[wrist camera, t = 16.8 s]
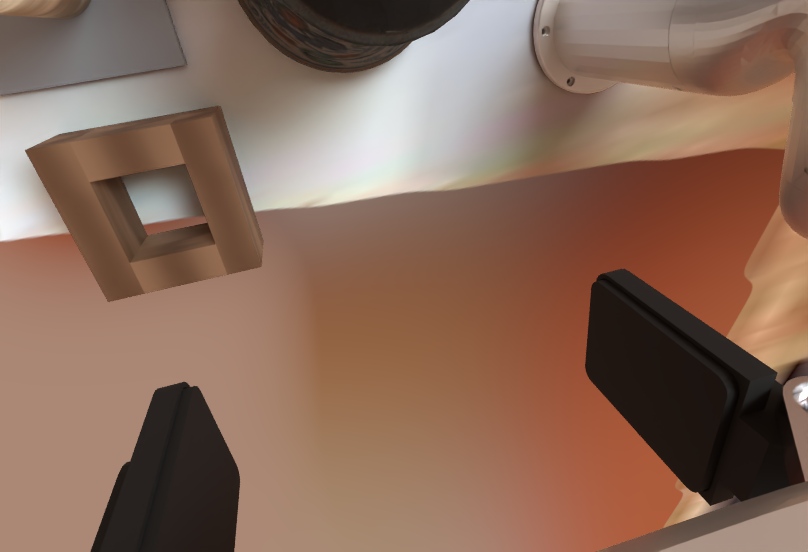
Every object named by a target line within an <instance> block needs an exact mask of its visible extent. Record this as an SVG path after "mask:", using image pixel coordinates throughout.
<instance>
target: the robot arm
mask: <svg viewBox="0 0 808 552" xmlns="http://www.w3.org/2000/svg"><path fill="white" fill-rule="evenodd" d="M542 29H543V33H542ZM533 38H534V47H535V52H536V55H537V59H538V62H539V64H540V66H541V68H542V70H543V72H544V73H545V74H546V76H547V77H548V78H549V79H550V80H551V82H553V83H554V84H556V85H557V86H558V87H560V88H562V89H564V90H567V91H569V92H574V93H579V94H591V93H596V92H600V91H603V90H605V89H608V88H610V87H612V86H613V85H615V84H616V83H618V82H623V83H630V84H637V85H644V86H651V87H658V88H664V89H671V90H678V91H685V92H692V93H699V94H707V95H714V96H737V95H744V94H748V93H751V92H755V91H758V90H761V89H764V88H766V87H768V86H771V85H773V84H775V83H777V82H779V81H781V80H783V79H785V78H786V77H788V76H790V75H792V74H793V73H795V82H794V90H793V97H792V102H793V105H792V112H791V118H790V124H789V130H788V136H787V142H786V149H785V155H784V161H783V167H782V176H781V183H780V195H779V198H780V208H781V212H782V215H783V217H784V219H785V221H786V222H787V224H788V225H789V226H790V227H791V228H792V229H793V230H794V231H795V232H797V233H798V234H799V235H801V236H802V237H804V238H806V239H808V0H539V2H538V5H537V8H536V13H535V19H534V31H533ZM567 80H568V82H567ZM585 368H586V372H587V375H588V377H589V379H590V380H591V381H592V382H593V384H594V385H595V386H596V387H597V388H598V389H599V390H600V391H601V392H602V394H603V395H604V396H605V397H606V398H607V399H608V400H609V401H610V402H611V404H612V405H613V406H614V407H615V408H616V409H617V410H618V411H619V412H620V414H621V415H622V416H623V417H624V418H625V419H626V420H627V421H628V423H630V425H631V426H632V427H633V428H634V429H635V430H636V431H637V433H638V434H639V435H640V436H641V437H642V438H643V439H644V440H645V441H646V443H647V444H648V445H649V446H650V447H651V448H652V449H653V450H654V451H655V453H656V454H657V455H658V456H659V457H660V458H661V459H662V460H663V462H664V463H665V464H666V465H667V466H668V467H669V468H670V469H671V470H672V472H673V473H674V474H675V475H676V476H677V477H678V478H679V479H680V480H681V482H682V483H683V484H684V485H685V486H686V487H687V488H688V489H689V490H691V491H692V492H698V493H699V494H700V495H701V496H702V497H703V498H704V499H705V500H706V502H707V503H708V504H709V505H710V506H711V505H714V504H717V503H720V502H723V501H725V500H728V499H731V498H733V496H734V495H735V496H736V497H737V498H738V499H739V500H740V501H741V502H739V503H736V504H733V505H730V506H727V507H724V508H721V509H718V510H715V511H712V512H709V513H706V514H703V515H701V516H698V517H695V518H692V519H689V520H686V521H683V522H680V523H677V524H675V525H672V526H669V527H666V528H663V529H660V530H657V531H654V532H651V533H649V534H646V535H643V536H640V537H637V538H634V539H632V540H629V541H625V542H623V543H620V544H617V545H614V546H611V547H608V548H606V549H603V550H600V551H597V552H808V376H804V377H796V378H794V379H791V380H789V381H788V382H787V383H786V384H785V385H784V386H783V385H781V384H780V383H778V382H777V381H776V380H775V379H776V376H777V372H776V371H774V370H773V369H771V368H770V367H768V366H767V365H765V364H764V363H763V362H761V361H760V360H758V359H757V358H755V357H754V356H752V355H751V354H749V353H748V352H746V351H745V350H743V349H742V348H741V347H739V346H738V345H736V344H735V343H733V342H732V341H730V340H729V339H727V338H726V337H724V336H723V335H721V334H720V333H718V332H717V331H715V330H714V329H713V328H711V327H709V326H708V325H707V324H705V323H704V322H702V321H701V320H699V319H698V318H696V317H695V316H693V315H692V314H691V313H689V312H688V311H686V310H685V309H683V308H682V307H680V306H679V305H677V304H676V303H674V302H673V301H672V300H670V299H669V298H667V297H665V296H664V295H663V294H661V293H660V292H658V291H657V290H656V289H654V288H653V287H651V286H650V285H648V284H647V283H645V282H644V281H642V280H641V279H639V278H638V277H636V276H635V275H633V274H632V273H630V272H629V271H627V270H625V269H620V270H615V271H612V272H608V273H604V274H601V275H599V276H598V278H597V281H596V282H594V283H593V285H592V288H591V300H590V313H589V326H588V339H587V350H586V364H585ZM239 488H240V476H239V471H238V467H237V465H236V463H235V461H234V459H233V457H232V455H231V453H230V451H229V449H228V446H227V444H226V443H225V440H224V438H223V436H222V434H221V432H220V430H219V428H218V426H217V424H216V422H215V420H214V418H213V416H212V414H211V411H210V409H209V407H208V405H207V403H206V401H205V399H204V397H203V395H202V393H201V391H200V389H199V388H198V387H197V386H193V387H190V386H189V385H188V384H187V383H186V382H182V383H178V384H174V385H170V386H167V387H162V388H159V389H157V390H155V392H154V394H153V397H152V401H151V403H150V406H149V409H148V412H147V415H146V417H145V420H144V423H143V426H142V429H141V432H140V435H139V438H138V441H137V444H136V446H135V449H134V452H133V455H132V458H131V461H130V462H127V463H126V464H124V465H123V466H122V468H121V470H120V472H119V474H118V477H117V480H116V482H115V485H114V488H113V491H112V494H111V496H110V499H109V502H108V505H107V508H106V510H105V513H104V516H103V518H102V522H101V524H100V527H99V530H98V532H97V535H96V538H95V541H94V544H93V546H92V549H91V552H234V548H235V536H236V523H237V512H238V499H239Z"/></svg>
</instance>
